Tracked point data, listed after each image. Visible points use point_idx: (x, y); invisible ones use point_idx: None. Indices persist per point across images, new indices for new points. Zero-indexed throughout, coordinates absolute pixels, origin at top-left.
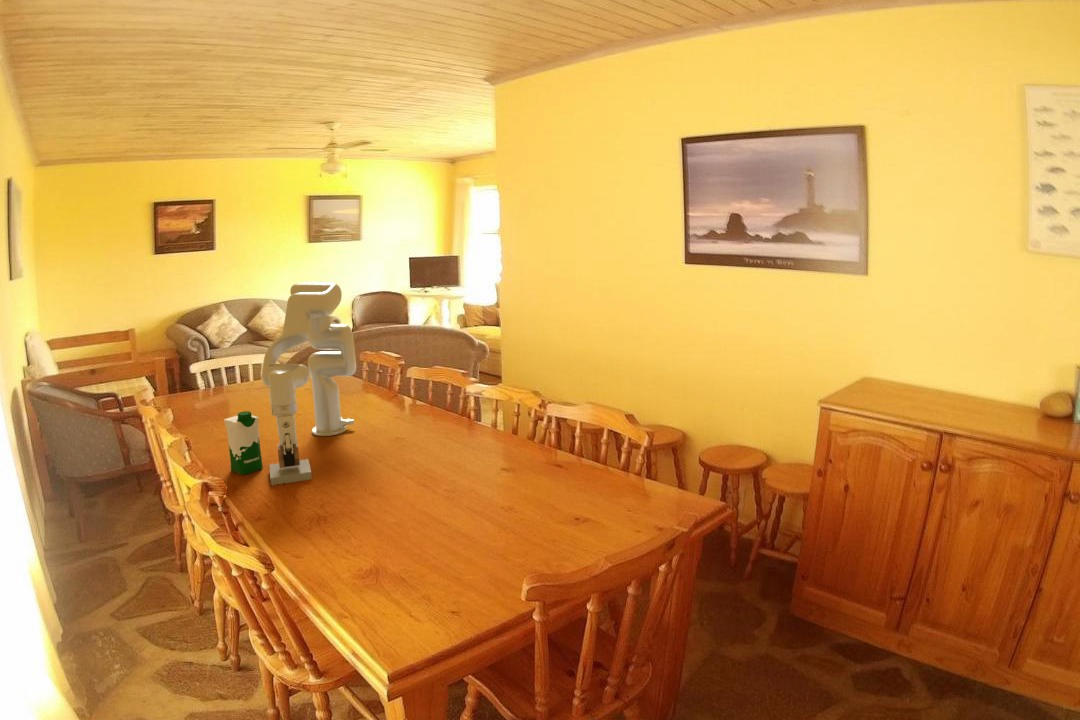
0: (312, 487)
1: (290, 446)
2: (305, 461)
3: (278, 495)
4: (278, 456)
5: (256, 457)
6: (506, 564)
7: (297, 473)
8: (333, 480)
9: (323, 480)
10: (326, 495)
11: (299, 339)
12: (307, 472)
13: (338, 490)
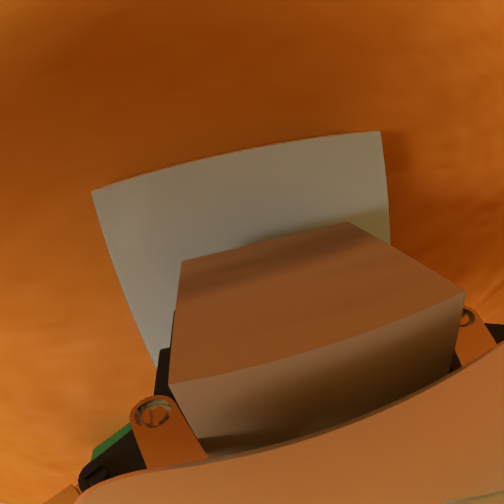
0: (443, 130)
1: (381, 401)
2: (142, 202)
3: (463, 271)
4: None
5: None
6: None
7: (381, 222)
8: (385, 23)
9: (379, 69)
10: (500, 86)
11: None
12: (383, 155)
13: (473, 35)
